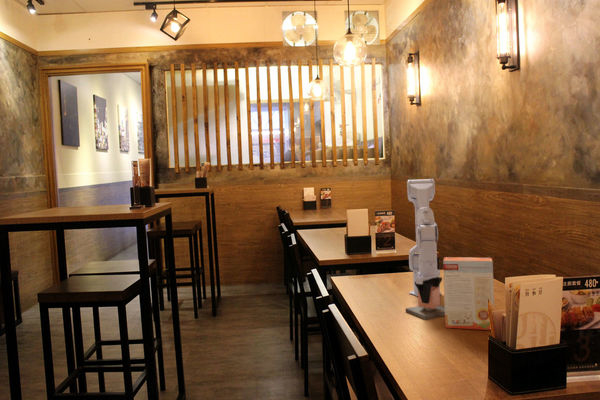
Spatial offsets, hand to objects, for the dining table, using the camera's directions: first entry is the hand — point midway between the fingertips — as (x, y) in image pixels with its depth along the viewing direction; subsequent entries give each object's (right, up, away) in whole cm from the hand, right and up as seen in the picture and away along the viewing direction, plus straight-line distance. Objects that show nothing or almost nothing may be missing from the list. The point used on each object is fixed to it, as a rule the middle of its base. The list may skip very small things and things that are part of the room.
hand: (429, 300), depth 160 cm
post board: (0, -4, 0) cm, 4 cm away
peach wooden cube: (0, -2, 0) cm, 2 cm away
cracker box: (+8, -5, -15) cm, 18 cm away
